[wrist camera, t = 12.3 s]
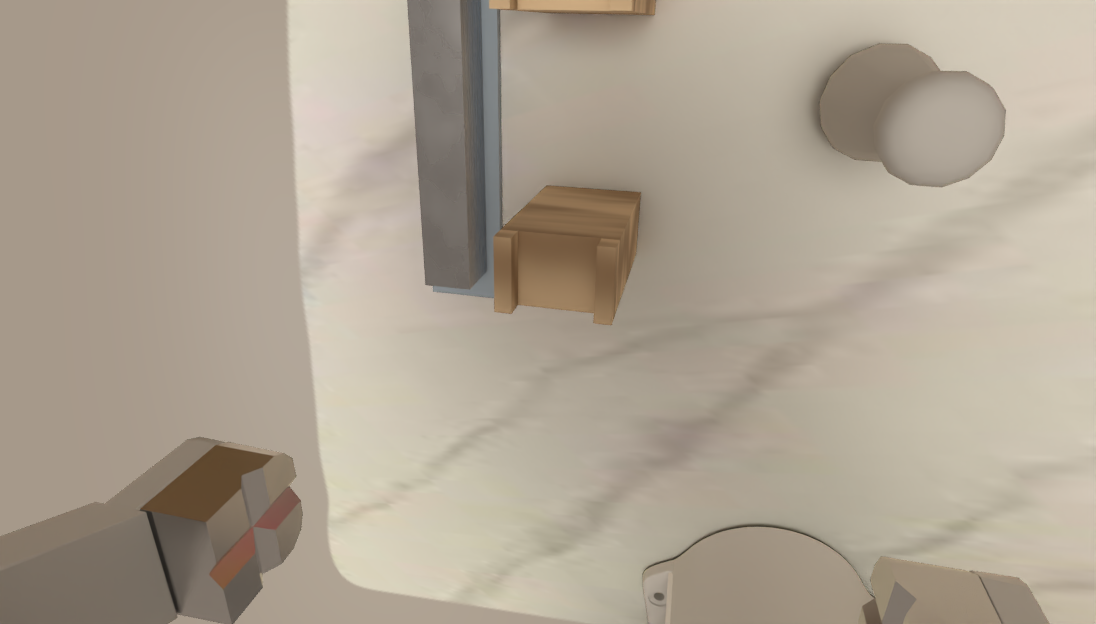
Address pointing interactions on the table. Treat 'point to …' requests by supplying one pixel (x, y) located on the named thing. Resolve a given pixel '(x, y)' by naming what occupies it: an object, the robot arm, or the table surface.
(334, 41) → the table surface
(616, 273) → the stand far
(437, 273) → the bar
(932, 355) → the table surface
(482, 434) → the table surface
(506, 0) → the stand near
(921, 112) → the salt shaker
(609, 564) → the table surface
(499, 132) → the grey flat bar
